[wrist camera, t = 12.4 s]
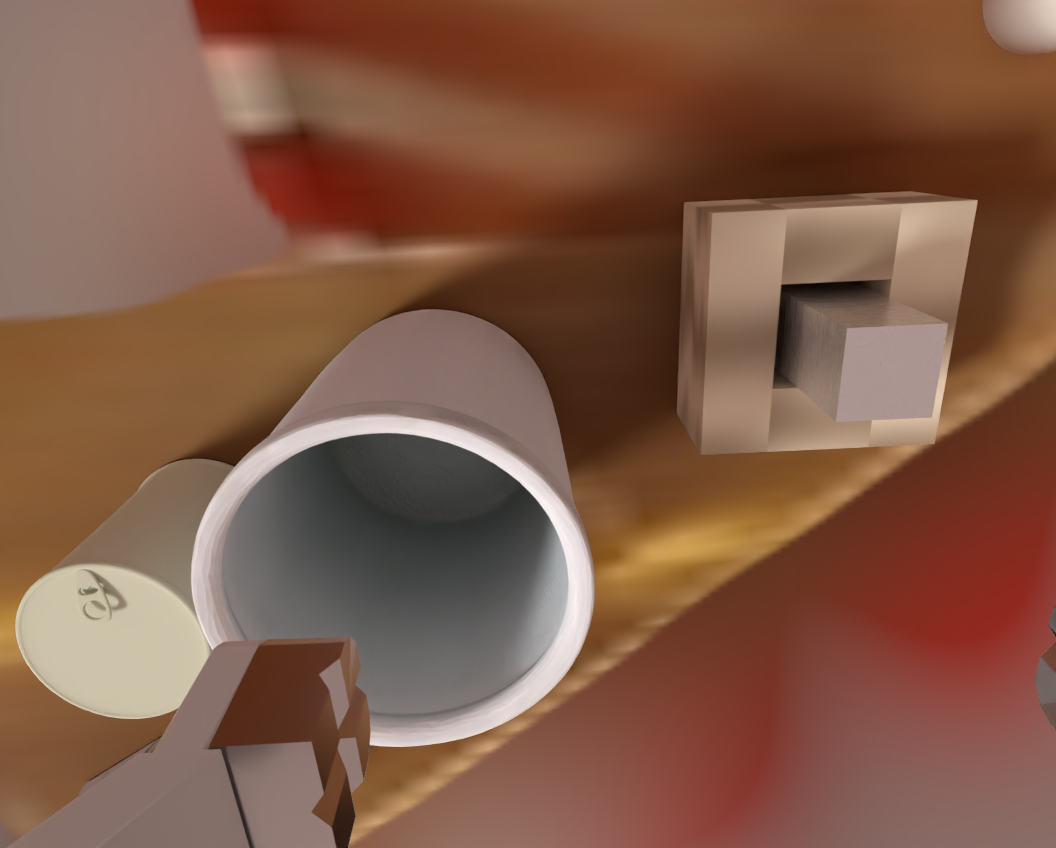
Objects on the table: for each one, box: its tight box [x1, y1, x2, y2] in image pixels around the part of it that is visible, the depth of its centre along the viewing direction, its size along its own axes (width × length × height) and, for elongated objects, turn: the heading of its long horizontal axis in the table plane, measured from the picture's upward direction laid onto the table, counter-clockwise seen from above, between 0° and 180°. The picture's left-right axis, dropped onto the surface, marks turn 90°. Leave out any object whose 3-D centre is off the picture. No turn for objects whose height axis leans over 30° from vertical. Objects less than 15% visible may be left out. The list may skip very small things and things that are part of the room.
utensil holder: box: [191, 309, 595, 747], centre depth 35 cm, size 15×15×18 cm
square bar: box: [774, 281, 948, 422], centre depth 35 cm, size 4×4×12 cm
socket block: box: [677, 191, 978, 455], centre depth 38 cm, size 12×12×6 cm
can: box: [15, 459, 234, 719], centre depth 39 cm, size 9×9×12 cm
